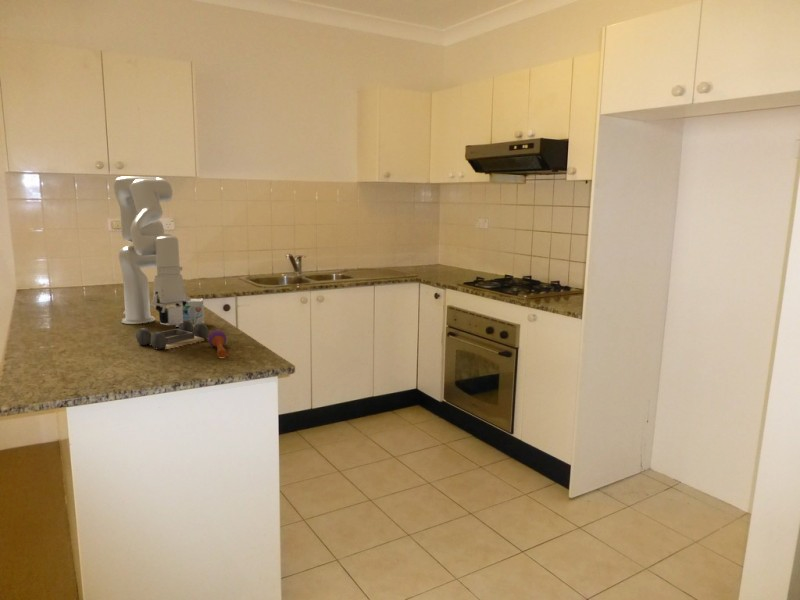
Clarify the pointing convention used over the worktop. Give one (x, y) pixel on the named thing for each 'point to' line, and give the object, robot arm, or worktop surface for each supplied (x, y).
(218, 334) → the purple maraca
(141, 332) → the chassis board
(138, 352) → the worktop surface
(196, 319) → the light bulb box
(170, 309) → the grey cube
